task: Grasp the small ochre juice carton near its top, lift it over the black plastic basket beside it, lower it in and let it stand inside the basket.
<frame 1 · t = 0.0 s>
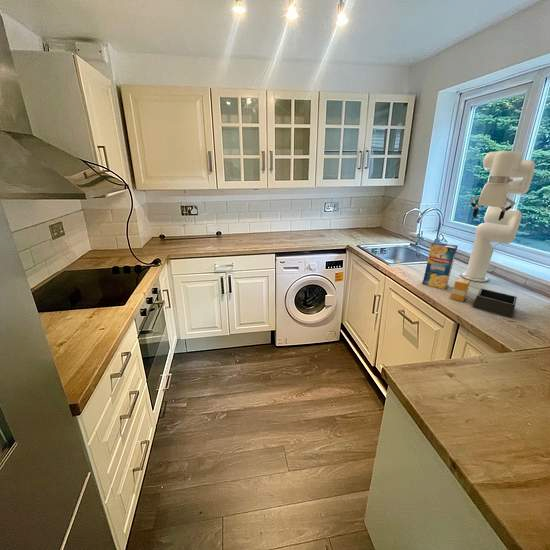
hand: (487, 218, 135), 37 cm above the worktop, tool pointing down, fingers open, 9 cm apart
basket: (493, 307, 130), on the worktop
blue yellow food box: (434, 284, 154), on the worktop
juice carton: (457, 298, 138), on the worktop
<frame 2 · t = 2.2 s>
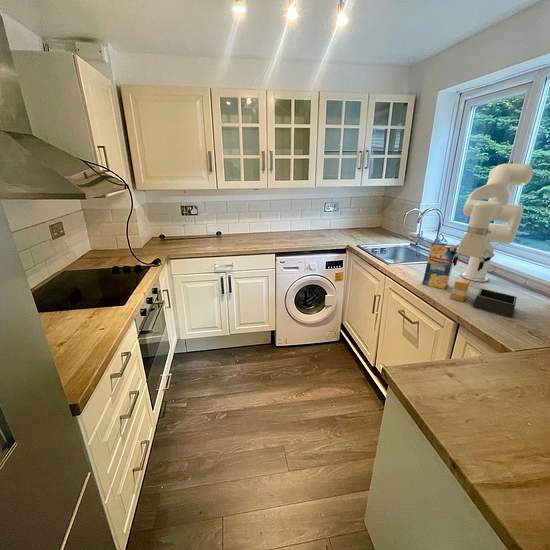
hand: (466, 267, 132), 16 cm above the worktop, tool pointing down, fingers open, 9 cm apart
nothing on the worktop moved.
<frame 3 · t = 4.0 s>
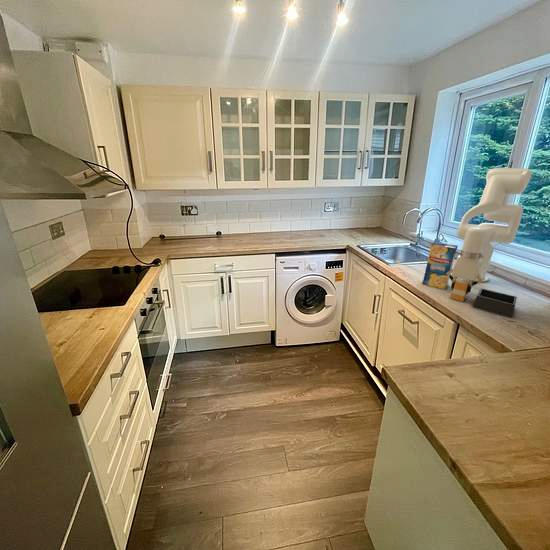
hand: (460, 291, 137), 4 cm above the worktop, tool pointing down, fingers closed on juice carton, 5 cm apart
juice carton: (457, 298, 138), on the worktop, touching gripper
everything else where it was.
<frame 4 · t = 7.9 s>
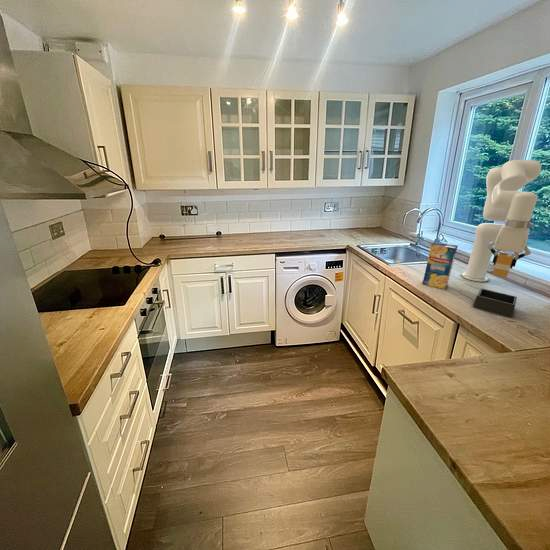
hand: (502, 265, 123), 20 cm above the worktop, tool pointing down, fingers closed on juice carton, 5 cm apart
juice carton: (500, 274, 125), point 16 cm above the worktop, touching gripper
everything else where it was.
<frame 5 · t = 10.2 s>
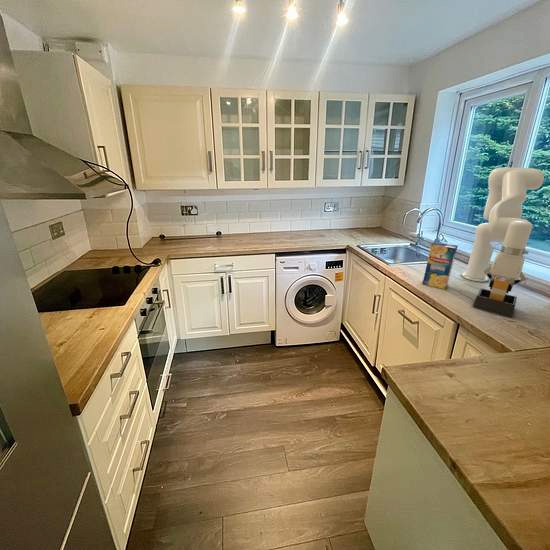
hand: (499, 290, 126), 9 cm above the worktop, tool pointing down, fingers closed on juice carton, 5 cm apart
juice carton: (496, 298, 128), point 5 cm above the worktop, touching gripper
everything else where it was.
when the fingers open (5 cm above the worktop, at t = 11.6 s): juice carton stays where it is, resting on basket.
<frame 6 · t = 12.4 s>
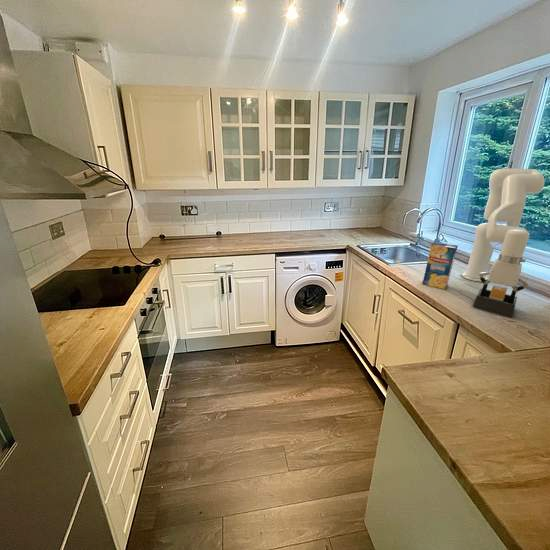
hand: (497, 295, 128), 6 cm above the worktop, tool pointing down, fingers open, 9 cm apart
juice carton: (493, 306, 129), point 1 cm above the worktop, touching basket
everything else where it was.
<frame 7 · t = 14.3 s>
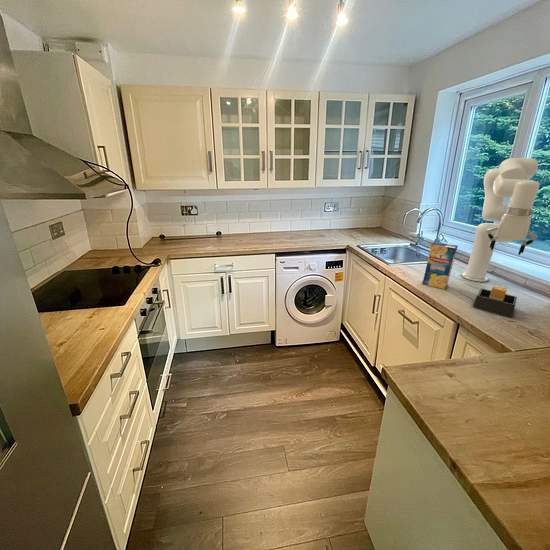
hand: (505, 251, 125), 25 cm above the worktop, tool pointing down, fingers open, 9 cm apart
nothing on the worktop moved.
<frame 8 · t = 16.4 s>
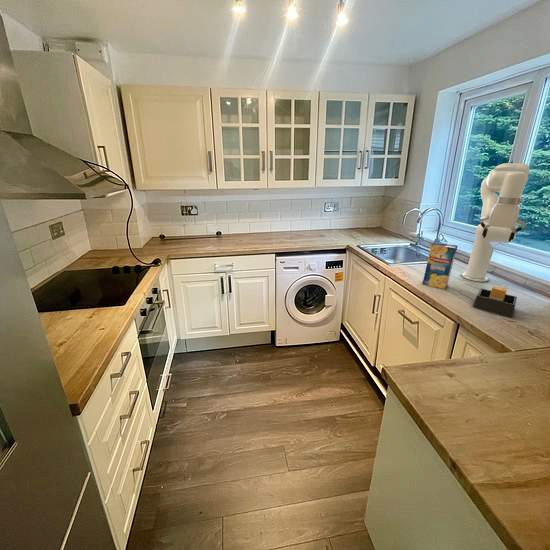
hand: (496, 239, 133), 28 cm above the worktop, tool pointing down, fingers open, 9 cm apart
nothing on the worktop moved.
at the end: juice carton inside the target area in the basket (0.1 cm from its centre), point 0.8 cm above the basket's base; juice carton tilted 0°; the gripper is holding nothing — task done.
